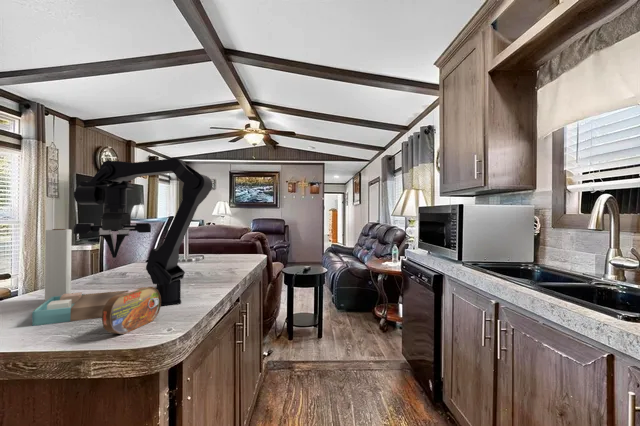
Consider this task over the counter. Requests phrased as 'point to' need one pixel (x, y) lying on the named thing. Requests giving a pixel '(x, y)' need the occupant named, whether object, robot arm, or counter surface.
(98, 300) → the walnut plate
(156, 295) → the tin
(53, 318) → the tray
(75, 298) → the terracotta block
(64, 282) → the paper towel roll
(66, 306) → the cream tile
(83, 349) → the counter surface
